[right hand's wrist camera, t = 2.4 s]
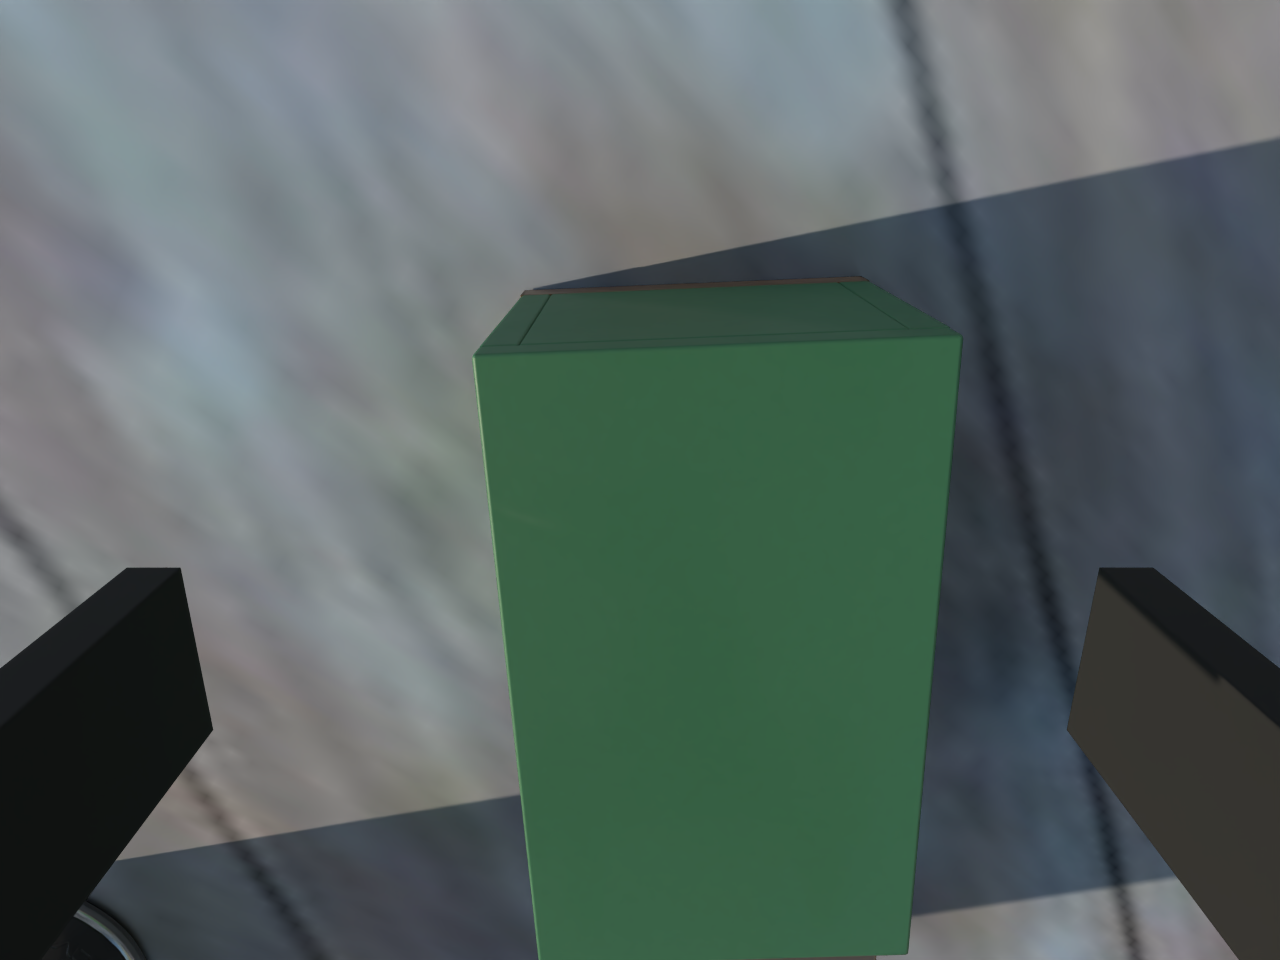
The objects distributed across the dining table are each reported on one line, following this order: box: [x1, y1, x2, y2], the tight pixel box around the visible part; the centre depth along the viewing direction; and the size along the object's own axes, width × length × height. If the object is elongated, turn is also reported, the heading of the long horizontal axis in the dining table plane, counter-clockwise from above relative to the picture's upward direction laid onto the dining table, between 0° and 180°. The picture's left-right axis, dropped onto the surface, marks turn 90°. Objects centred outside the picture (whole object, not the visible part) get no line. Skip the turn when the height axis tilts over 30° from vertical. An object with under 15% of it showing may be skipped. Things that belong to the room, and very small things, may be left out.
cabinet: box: [472, 276, 963, 960], centre depth 26 cm, size 18×10×9 cm, turn 2°
